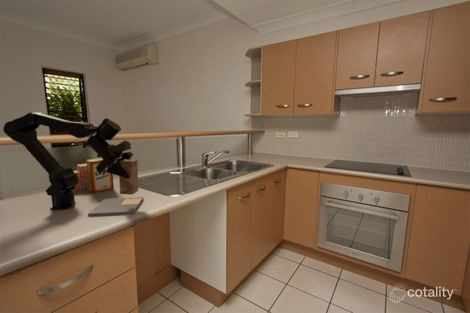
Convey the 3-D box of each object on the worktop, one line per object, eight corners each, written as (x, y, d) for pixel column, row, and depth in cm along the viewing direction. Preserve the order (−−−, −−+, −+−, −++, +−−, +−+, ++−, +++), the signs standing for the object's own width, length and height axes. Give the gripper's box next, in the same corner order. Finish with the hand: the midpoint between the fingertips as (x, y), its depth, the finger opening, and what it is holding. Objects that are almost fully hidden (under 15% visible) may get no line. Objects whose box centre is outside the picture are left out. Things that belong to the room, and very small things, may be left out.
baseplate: (88, 216, 83) (87, 213, 83) (105, 200, 99) (105, 198, 99) (133, 213, 86) (133, 211, 86) (143, 199, 102) (143, 197, 102)
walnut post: (120, 194, 88) (118, 161, 86) (126, 190, 93) (125, 159, 91) (132, 194, 88) (131, 162, 86) (138, 190, 93) (137, 160, 91)
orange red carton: (59, 193, 107) (56, 168, 105) (57, 190, 112) (54, 166, 110) (108, 185, 123) (106, 163, 121) (104, 182, 127) (103, 161, 125)
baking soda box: (92, 193, 109) (90, 161, 106) (88, 190, 113) (86, 159, 110) (113, 189, 115) (111, 158, 113) (109, 186, 120) (107, 157, 117)
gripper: (102, 135, 78) (135, 167, 80) (127, 132, 96) (154, 158, 98) (81, 157, 79) (114, 188, 81) (110, 150, 97) (137, 175, 99)
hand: (132, 176), depth 90 cm, fingers closed on walnut post, 5 cm apart
